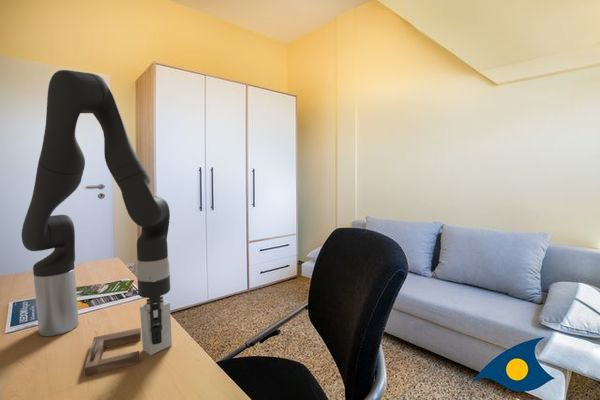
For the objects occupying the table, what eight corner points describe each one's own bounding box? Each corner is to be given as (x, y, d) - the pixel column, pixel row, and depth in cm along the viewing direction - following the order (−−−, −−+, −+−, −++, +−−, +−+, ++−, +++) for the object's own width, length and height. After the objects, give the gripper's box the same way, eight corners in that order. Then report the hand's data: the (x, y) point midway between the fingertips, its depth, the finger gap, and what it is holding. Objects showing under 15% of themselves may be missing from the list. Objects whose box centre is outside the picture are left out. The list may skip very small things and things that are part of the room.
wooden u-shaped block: (94, 344, 82) (93, 334, 82) (140, 334, 87) (140, 325, 87) (84, 376, 70) (84, 364, 69) (139, 362, 74) (138, 352, 74)
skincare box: (164, 339, 84) (162, 298, 83) (172, 345, 82) (170, 302, 80) (141, 349, 80) (139, 305, 78) (149, 356, 77) (146, 310, 76)
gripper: (138, 268, 83) (141, 327, 85) (136, 287, 70) (139, 356, 72) (168, 264, 87) (170, 321, 88) (171, 282, 74) (174, 348, 76)
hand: (156, 336), depth 80 cm, fingers closed on skincare box, 5 cm apart
